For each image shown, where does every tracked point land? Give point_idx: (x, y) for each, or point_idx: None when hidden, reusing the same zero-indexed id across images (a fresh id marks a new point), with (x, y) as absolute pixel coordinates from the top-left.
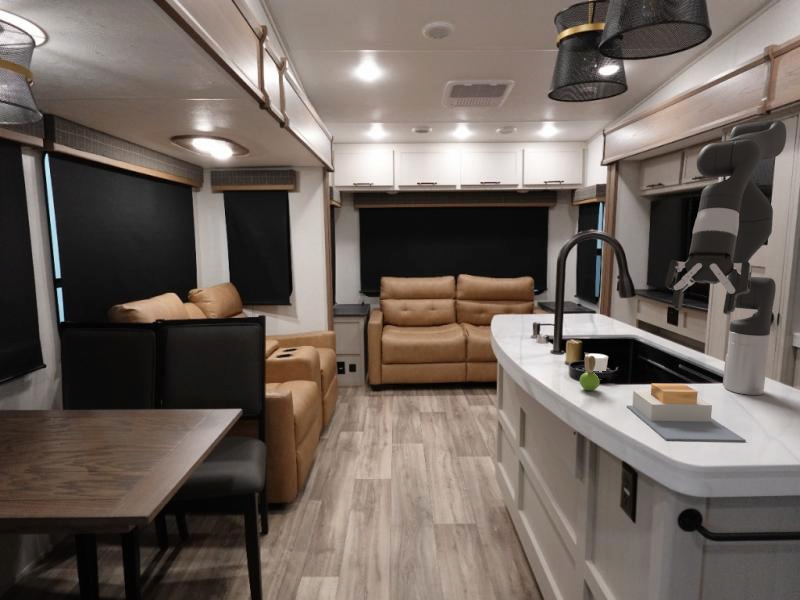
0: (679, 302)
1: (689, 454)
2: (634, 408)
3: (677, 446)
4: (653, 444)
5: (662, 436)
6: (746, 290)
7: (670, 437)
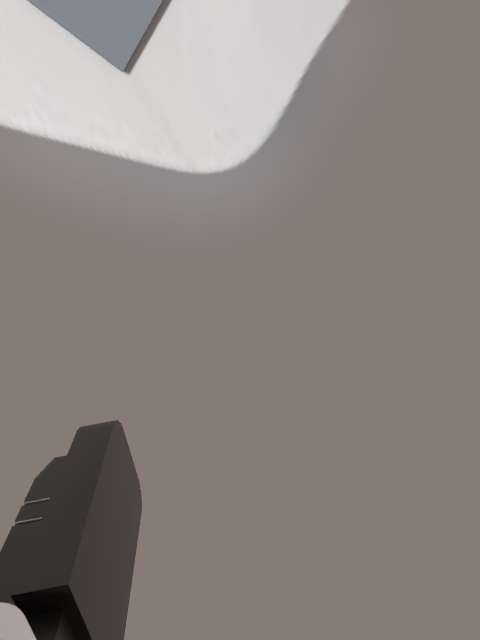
0: (131, 535)
1: (212, 112)
2: None
3: (167, 86)
4: (125, 134)
5: (104, 58)
6: None
7: (125, 48)
